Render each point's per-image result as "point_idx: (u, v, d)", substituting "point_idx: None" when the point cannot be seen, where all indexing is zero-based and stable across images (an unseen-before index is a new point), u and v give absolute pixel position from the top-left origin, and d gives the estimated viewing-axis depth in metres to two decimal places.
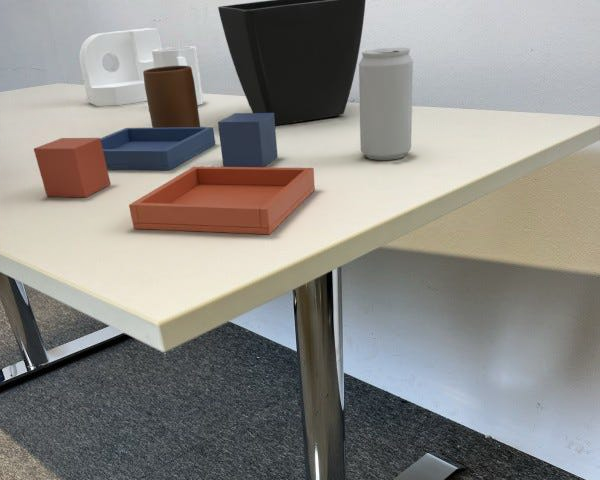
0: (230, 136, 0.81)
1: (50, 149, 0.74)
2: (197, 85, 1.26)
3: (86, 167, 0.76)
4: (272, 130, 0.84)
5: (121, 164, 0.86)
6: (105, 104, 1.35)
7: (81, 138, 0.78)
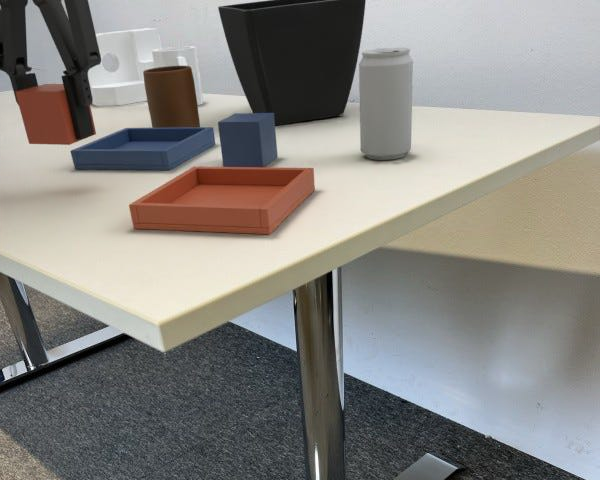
0: (230, 136, 0.81)
1: (32, 92, 0.71)
2: (197, 85, 1.26)
3: None
4: (272, 130, 0.84)
5: (121, 164, 0.86)
6: (105, 104, 1.35)
7: None
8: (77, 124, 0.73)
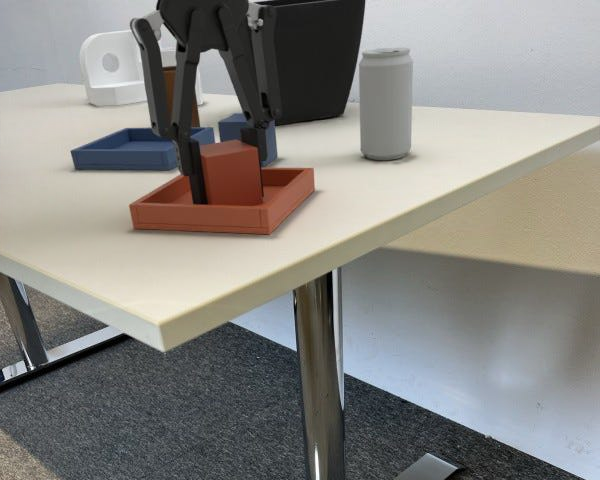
0: (230, 136, 0.81)
1: (227, 154, 0.63)
2: (197, 85, 1.26)
3: None
4: (272, 130, 0.84)
5: (121, 164, 0.86)
6: (105, 104, 1.35)
7: (216, 143, 0.67)
8: (261, 181, 0.68)
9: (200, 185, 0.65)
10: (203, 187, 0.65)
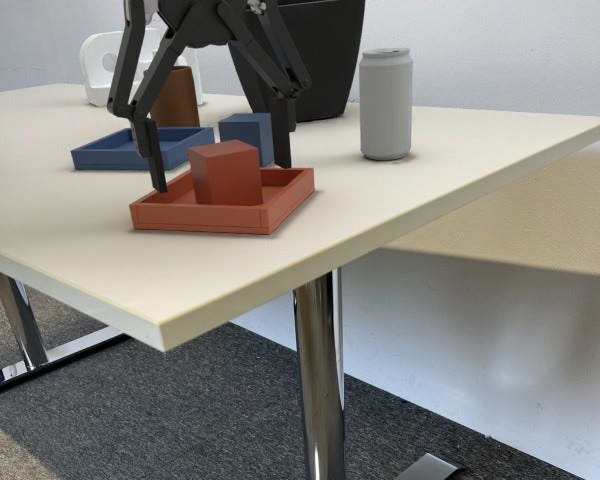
0: (230, 136, 0.81)
1: (228, 154, 0.63)
2: (197, 85, 1.26)
3: None
4: None
5: (121, 164, 0.86)
6: (105, 104, 1.35)
7: (216, 143, 0.67)
8: (289, 152, 0.68)
9: (158, 167, 0.62)
10: (161, 169, 0.63)
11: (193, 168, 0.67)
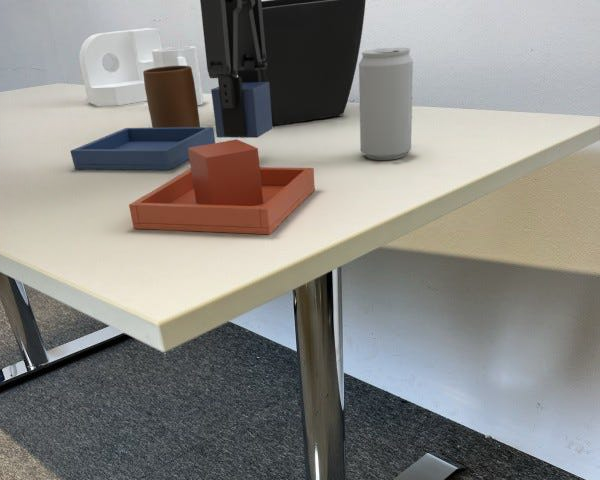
0: None
1: (228, 154, 0.63)
2: (197, 85, 1.26)
3: None
4: (267, 99, 0.82)
5: (121, 164, 0.86)
6: (105, 104, 1.35)
7: (216, 143, 0.67)
8: None
9: (243, 114, 0.79)
10: (244, 116, 0.79)
11: (193, 168, 0.67)
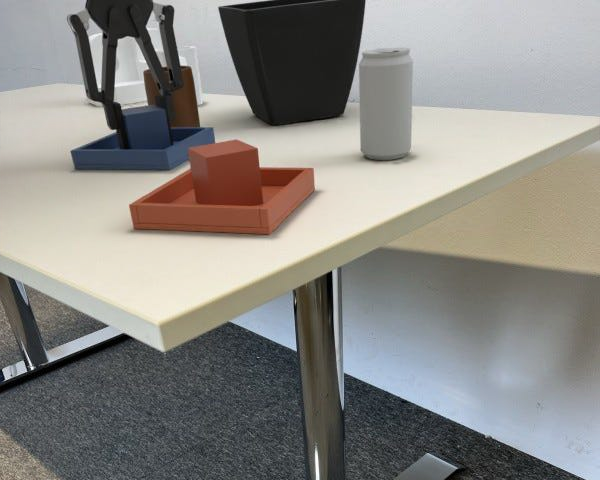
0: None
1: (228, 154, 0.63)
2: (197, 85, 1.26)
3: None
4: (159, 125, 0.89)
5: (121, 164, 0.86)
6: None
7: (216, 143, 0.67)
8: (171, 135, 0.91)
9: (123, 137, 0.89)
10: (125, 138, 0.89)
11: (193, 168, 0.67)
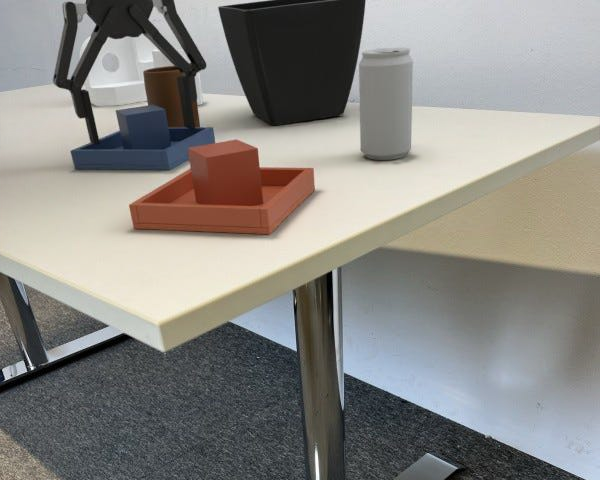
0: (120, 124, 0.90)
1: (228, 154, 0.63)
2: (197, 85, 1.26)
3: None
4: (159, 125, 0.89)
5: (121, 164, 0.86)
6: (105, 104, 1.35)
7: (216, 143, 0.67)
8: (192, 116, 0.91)
9: (92, 125, 0.86)
10: (94, 127, 0.86)
11: (193, 168, 0.67)
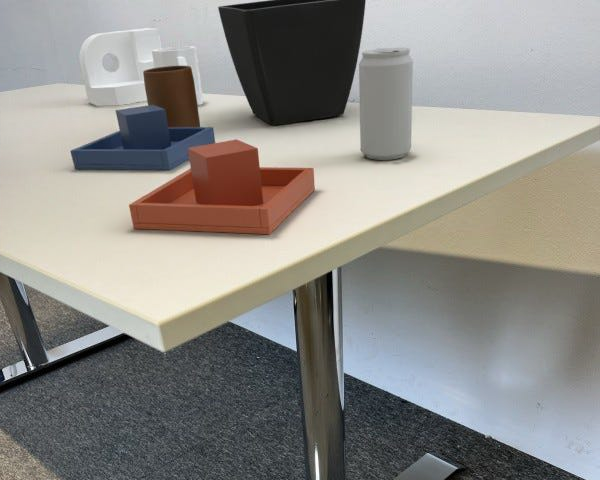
0: (120, 124, 0.90)
1: (228, 154, 0.63)
2: (197, 85, 1.26)
3: None
4: (159, 125, 0.89)
5: (121, 164, 0.86)
6: (105, 104, 1.35)
7: (216, 143, 0.67)
8: None
9: None
10: None
11: (193, 168, 0.67)
